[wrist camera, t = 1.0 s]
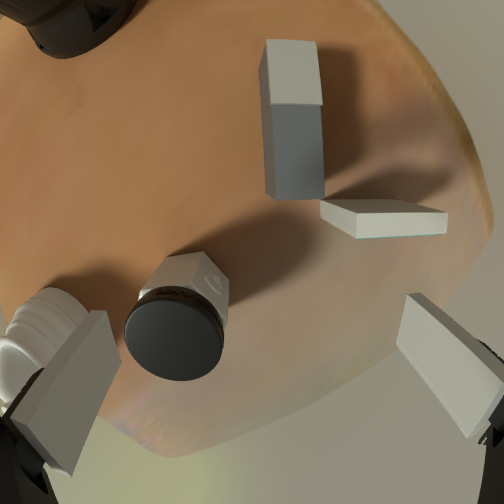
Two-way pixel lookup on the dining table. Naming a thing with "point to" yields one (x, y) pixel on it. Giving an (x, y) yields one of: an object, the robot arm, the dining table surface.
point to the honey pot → (36, 337)
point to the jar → (180, 318)
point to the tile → (383, 218)
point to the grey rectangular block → (292, 120)
